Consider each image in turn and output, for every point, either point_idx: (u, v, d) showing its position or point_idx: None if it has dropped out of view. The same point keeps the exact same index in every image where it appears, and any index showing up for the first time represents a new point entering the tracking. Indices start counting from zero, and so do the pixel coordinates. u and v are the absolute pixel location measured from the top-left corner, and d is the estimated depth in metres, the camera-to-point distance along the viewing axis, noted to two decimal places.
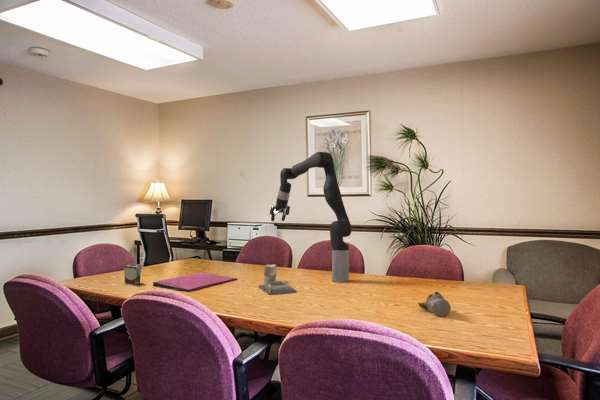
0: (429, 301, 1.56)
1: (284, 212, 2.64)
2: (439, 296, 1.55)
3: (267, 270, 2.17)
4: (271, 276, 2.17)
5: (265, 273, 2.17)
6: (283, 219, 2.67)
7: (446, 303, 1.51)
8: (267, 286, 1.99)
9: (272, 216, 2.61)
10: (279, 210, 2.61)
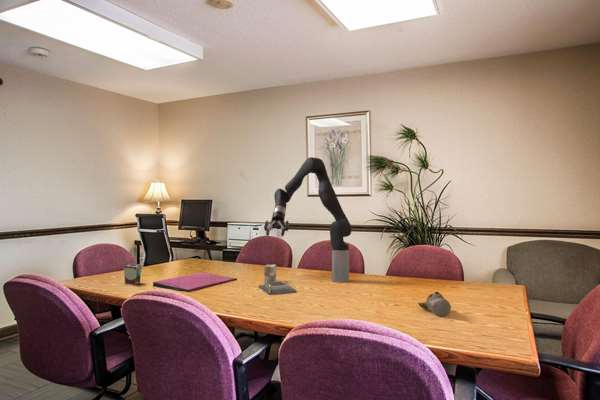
0: (429, 301, 1.56)
1: (280, 225, 2.35)
2: (439, 296, 1.55)
3: (267, 270, 2.17)
4: (271, 276, 2.17)
5: (265, 273, 2.17)
6: (281, 232, 2.32)
7: (446, 303, 1.51)
8: (267, 286, 1.99)
9: (266, 230, 2.35)
10: (273, 222, 2.37)
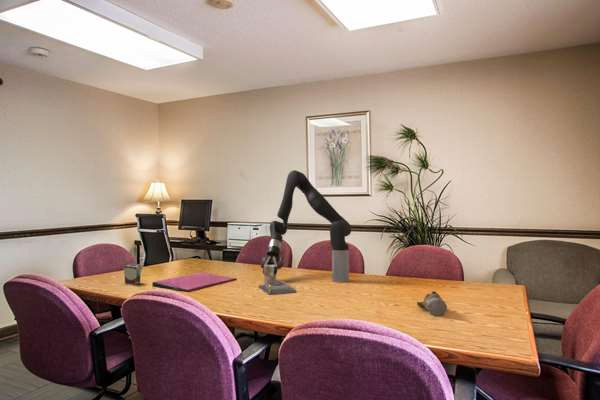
0: (426, 300, 1.57)
1: (274, 261, 2.22)
2: (436, 295, 1.56)
3: (267, 270, 2.17)
4: (271, 276, 2.17)
5: (265, 273, 2.17)
6: None
7: (442, 302, 1.52)
8: (267, 286, 1.99)
9: (263, 268, 2.21)
10: (268, 259, 2.24)
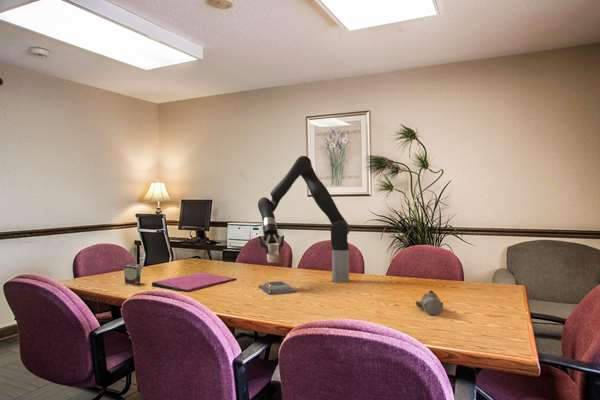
0: (423, 300, 1.58)
1: (275, 239, 2.08)
2: (432, 295, 1.56)
3: (272, 248, 2.02)
4: (276, 255, 2.03)
5: (269, 252, 2.02)
6: None
7: (437, 302, 1.52)
8: (267, 286, 1.99)
9: (265, 247, 2.05)
10: (268, 237, 2.08)
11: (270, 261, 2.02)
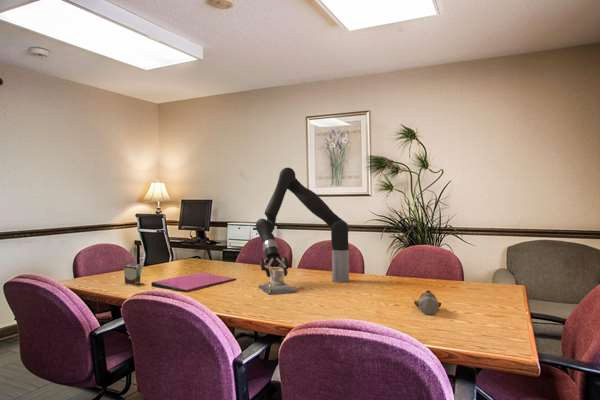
0: (419, 299, 1.59)
1: (280, 262, 2.03)
2: (429, 295, 1.57)
3: (277, 274, 1.97)
4: (281, 281, 1.98)
5: (274, 279, 1.97)
6: (285, 272, 2.01)
7: (433, 302, 1.53)
8: (267, 286, 1.99)
9: (266, 270, 1.99)
10: (271, 260, 2.03)
11: None
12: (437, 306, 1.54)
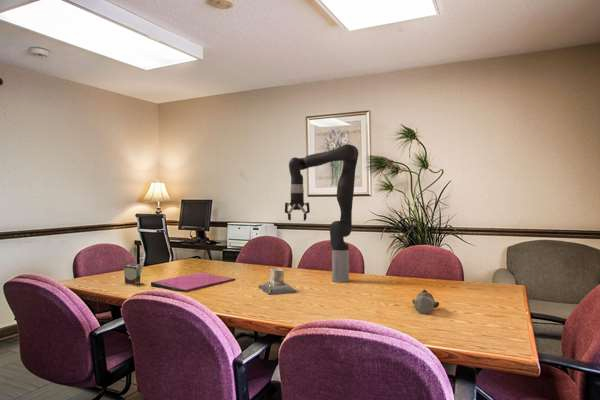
0: (416, 298, 1.61)
1: (301, 209, 2.29)
2: (425, 294, 1.59)
3: (277, 274, 1.97)
4: (281, 281, 1.98)
5: (274, 279, 1.97)
6: None
7: (427, 301, 1.54)
8: (267, 286, 1.99)
9: (288, 214, 2.32)
10: (293, 206, 2.30)
11: None
12: (432, 305, 1.55)
